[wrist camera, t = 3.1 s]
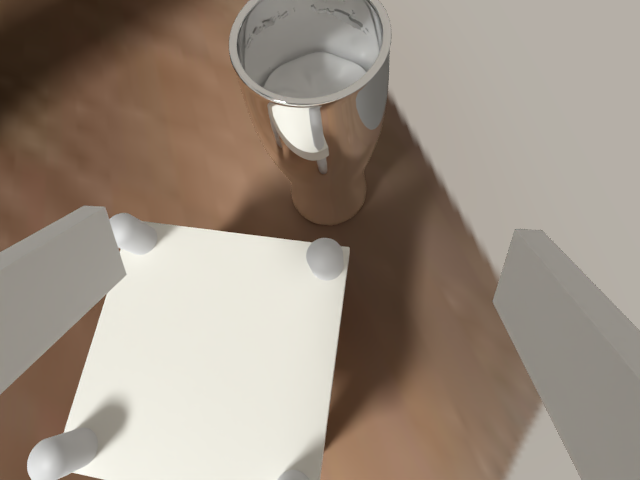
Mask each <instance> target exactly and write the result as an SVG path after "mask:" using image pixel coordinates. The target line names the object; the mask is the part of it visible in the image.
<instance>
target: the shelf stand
mask: <svg viewBox="0 0 640 480" xmlns="http://www.w3.org/2000/svg"><path fill="white" fill-rule="evenodd" d="M109 221H110V224H111V227H112V230H113V233H114V237H115V240H116V243H117V246H118V248H121V251H120V255H121V258H122V262H123V265H124V268H125V271H126V274H127V275H126V276H125V277H124V278H123V279H122V280H121V281H120V282H119V283H118V284H117V285H115V286H114V287H113V288H112V289H111V290H110V291H109V292H108V293H107V296H106V299H105V302H104V305H103V308H102V312H101V315H100V318H99V321H98V325H97V328H96V331H95V334H94V337H93V341H92V344H91V347H90V350H89V353H88V357H87V360H86V363H85V366H84V369H83V373H82V376H81V379H80V382H79V385H78V389H77V392H76V395H75V398H74V401H73V405H72V408H71V411H70V414H69V418H68V421H67V424H66V427H65V430H64V433H62V434H59V435H56V436H53V437H50V438H47V439H44V440H42V441H40V442H39V443H38V444H37V445H36V446H35V447H34V448H33V449H32V451H31V453H30V455H29V458H28V463H27V470H28V474H29V476H30V478H31V479H32V480H57V479H60V478H62V477H64V476H66V475H68V474H70V473H77V474H82V475H86V476H91V477H95V478H100V479H104V480H320V476H321V469H322V461H323V453H324V446H325V438H326V430H327V423H328V415H329V407H330V400H331V392H332V384H333V377H334V369H335V362H336V354H337V346H338V339H339V331H340V323H341V316H342V308H343V300H344V293H345V285H346V277H347V270H348V262H349V254H350V247H344V246H340V245H339V244H338V243H337V242H336V241H335V240H333V239H330V238H320V239H317V240H315V241H314V242H304V241H296V240H288V239H280V238H272V237H264V236H256V235H248V234H240V233H232V232H224V231H216V230H208V229H200V228H192V227H184V226H176V225H168V224H160V223H152V222H144V221H140V220H139V219H137V218H135V217H134V216H132V215H130V214H127V213H120V214H117V215H115V216H113V217H112V218H110V219H109Z"/></svg>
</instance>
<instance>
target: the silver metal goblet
mask: <svg viewBox="0 0 640 480" xmlns="http://www.w3.org/2000/svg"><path fill="white" fill-rule="evenodd" d="M391 36H392V34H391V24H390V20H389V17H388V14H387V12H386V10H385V8H384V6H383V5H382V3H381V2H380V1H379V0H249V1H248V2H247V3H246V5H245V6H244V7H243V8H242V9H241V11H240V12H239V14H238V15H237V17H236V19H235V21H234V23H233V26H232V29H231V32H230V37H229V54H230V59H231V63H232V65H233V68H234V70H235V72H236V75H237V78H238V81H239V85H240V88H241V92H242V95H243V98H244V101H245V105H246V108H247V111H248V113H249V116H250V118H251V121H252V124H253V126H254V129H255V131H256V133H257V135H258V137H259V139H260V141H261V143H262V145H263V147H264V148H265V150H266V151H267V153H268V154H269V156H270V157H271V159H272V160H273V161H274V163H275V164H276V165H277V166H278V168H279V169H280V170H281V171H282V172H283V174H284V175H285V176H286V177H287V178H288V179H289V180H290V181H291V196H292V200H293V203H294V205H295V207H296V209H297V210H298V212H299V213H300V214H301V215H302V216H303V217H305V218H306V219H307V220H309V221H311V222H313V223H316V224H320V225H336V224H340V223H343V222H345V221H347V220H349V219H350V218H352V217H353V216H354V215H355V214H356V213H357V212H358V211H359V210H360V208H361V207H362V205H363V203H364V200H365V197H366V180H365V176H364V173H363V172H364V170H365V168H366V166H367V164H368V162H369V160H370V158H371V155H372V153H373V151H374V149H375V146H376V144H377V141H378V138H379V136H380V133H381V129H382V125H383V120H384V115H385V110H386V102H387V94H388V80H389V54H390V45H391Z"/></svg>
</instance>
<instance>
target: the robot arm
mask: <svg viewBox="0 0 640 480" xmlns="http://www.w3.org/2000/svg"><path fill="white" fill-rule="evenodd" d="M126 275H127V274H126V271H125V268H124V265H123V262H122V258H121V255H120V252H119V249H118V246H117V243H116V240H115V237H114V233H113V230H112V227H111V224H110V221H109V218H108V215H107V211H106V208H105V207H98V206H83V207H81V208H79V209H77V210H75V211H74V212H72V213H70V214H68V215H66V216H65V217H63V218H61V219H59V220H57V221H56V222H54V223H52V224H50V225H48V226H47V227H45V228H43V229H41V230H39V231H38V232H36V233H34V234H32V235H30V236H29V237H27V238H25V239H23V240H21V241H20V242H18V243H16V244H14V245H13V246H11V247H9V248H7V249H5V250H4V251H2V252H0V394H1V393H2V392H3V391H4V390H5V389H7V388H8V387H9V386H10V385H11V384H12V383H13V382H14V381H15V380H16V379H17V378H18V377H19V376H20V375H21V374H22V373H23V372H24V371H26V370H27V369H28V368H29V367H30V366H31V365H32V364H33V363H34V362H35V361H36V360H37V359H38V358H39V357H40V356H41V355H42V354H44V353H45V352H46V351H47V350H48V349H49V348H50V347H51V346H52V345H53V344H54V343H55V342H56V341H57V340H58V339H59V338H60V337H62V336H63V335H64V334H65V333H66V332H67V331H68V330H69V329H70V328H71V327H72V326H73V325H74V324H75V323H76V322H77V321H78V320H79V319H81V318H82V317H83V316H84V315H85V314H86V313H87V312H88V311H89V310H90V309H91V308H92V307H93V306H94V305H95V304H96V303H97V302H99V301H100V300H101V299H102V298H103V297H104V296H105V295H106V294H107V293H108V292H109V291H110V290H111V289H112V288H113V287H114V286H115V285H117V284H118V283H119V282H120V281H121V280H122V279H123V278H124V277H125V276H126ZM493 304H494V306H495V308H496V310H497V312H498V314H499V316H500V318H501V320H502V322H503V324H504V326H505V328H506V330H507V332H508V334H509V336H510V338H511V340H512V342H513V344H514V346H515V348H516V350H517V352H518V354H519V356H520V358H521V360H522V362H523V364H524V366H525V368H526V370H527V372H528V374H529V376H530V378H531V380H532V382H533V384H534V386H535V388H536V390H537V392H538V394H539V396H540V398H541V400H542V402H543V404H544V406H545V408H546V410H547V412H548V414H549V416H550V418H551V420H552V422H553V423H554V426H555V428H556V430H557V432H558V434H559V436H560V438H561V440H562V442H563V444H564V446H565V448H566V450H567V452H568V453H569V456H570V458H571V460H572V462H573V464H574V465H575V467H576V470H577V471H578V474H579V476H580V478H581V480H640V331H639V330H638V328H637V327H636V326H634V324H633V323H632V322H631V321H630V320H629V319H628V318H627V317H626V316H625V315H624V314H623V313H622V312H621V311H620V310H619V309H618V308H617V307H616V306H615V305H614V304H613V303H612V302H611V301H610V300H609V299H608V298H607V297H606V296H605V295H604V293H603V292H602V291H601V290H600V289H599V288H598V287H597V286H596V285H594V283H593V282H592V281H591V280H590V279H589V278H588V277H587V276H586V275H585V274H584V273H583V272H582V271H581V270H580V269H579V268H578V267H577V266H576V265H575V264H574V263H573V262H572V261H571V260H570V258H568V257H567V255H566V254H565V253H564V252H563V251H562V250H561V249H560V248H559V247H558V246H557V245H556V244H555V243H554V242H553V241H552V240H551V239H550V238H549V237H548V236H547V235H546V234H545V233H544V232H543V231H542V230H527V229H515V231H514V234H513V237H512V240H511V244H510V247H509V250H508V253H507V257H506V260H505V263H504V266H503V269H502V273H501V276H500V279H499V282H498V286H497V289H496V292H495V295H494V299H493Z"/></svg>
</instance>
